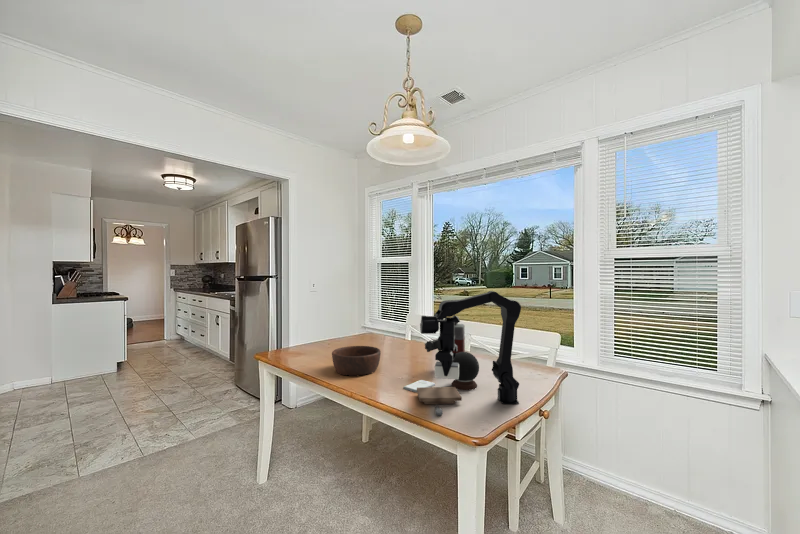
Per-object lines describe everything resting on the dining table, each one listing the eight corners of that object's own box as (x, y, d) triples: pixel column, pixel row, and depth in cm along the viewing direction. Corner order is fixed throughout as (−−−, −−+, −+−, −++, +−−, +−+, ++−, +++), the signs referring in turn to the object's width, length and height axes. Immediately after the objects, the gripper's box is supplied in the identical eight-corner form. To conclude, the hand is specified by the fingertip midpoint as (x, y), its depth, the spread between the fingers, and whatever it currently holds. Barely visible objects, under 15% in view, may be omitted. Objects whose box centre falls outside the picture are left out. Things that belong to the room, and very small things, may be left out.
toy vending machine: (465, 367, 182) (464, 314, 182) (463, 373, 171) (463, 317, 172) (448, 366, 184) (447, 314, 185) (445, 372, 174) (445, 316, 174)
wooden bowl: (390, 370, 179) (390, 350, 179) (352, 381, 161) (352, 359, 161) (359, 361, 197) (359, 343, 197) (322, 371, 178) (322, 351, 179)
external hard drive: (403, 390, 151) (420, 382, 160) (418, 394, 145) (435, 386, 155) (403, 386, 151) (420, 379, 160) (418, 390, 145) (435, 382, 155)
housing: (434, 377, 132) (434, 364, 132) (436, 373, 137) (436, 361, 137) (458, 379, 130) (458, 366, 130) (459, 375, 135) (459, 362, 135)
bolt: (433, 409, 128) (433, 402, 128) (440, 409, 128) (440, 402, 128) (435, 416, 122) (435, 409, 122) (442, 416, 122) (442, 408, 122)
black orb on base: (452, 379, 162) (452, 347, 163) (481, 382, 158) (480, 349, 158) (446, 388, 150) (445, 354, 150) (477, 392, 145) (476, 356, 146)
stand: (455, 394, 144) (455, 386, 144) (461, 405, 132) (461, 397, 132) (416, 394, 143) (416, 387, 143) (419, 406, 131) (419, 398, 131)
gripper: (430, 328, 145) (430, 365, 145) (421, 336, 127) (421, 379, 127) (457, 329, 142) (457, 368, 142) (452, 338, 124) (452, 382, 124)
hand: (446, 373), depth 134 cm, fingers closed on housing, 5 cm apart
